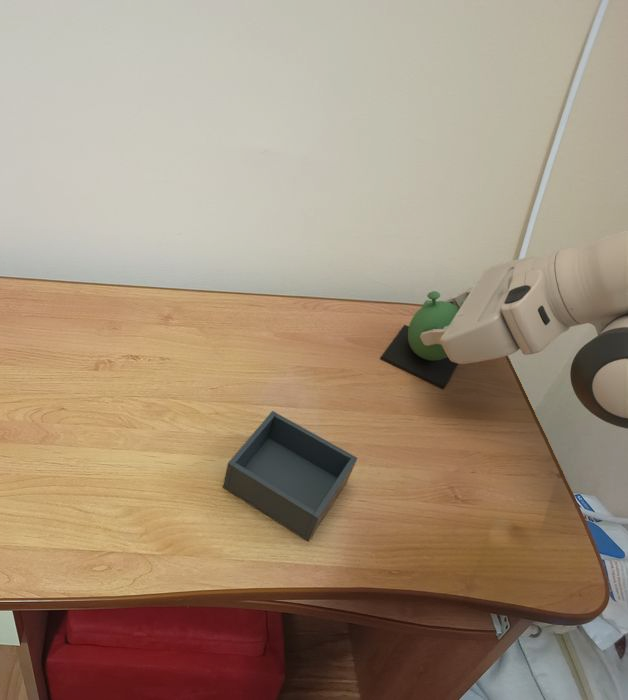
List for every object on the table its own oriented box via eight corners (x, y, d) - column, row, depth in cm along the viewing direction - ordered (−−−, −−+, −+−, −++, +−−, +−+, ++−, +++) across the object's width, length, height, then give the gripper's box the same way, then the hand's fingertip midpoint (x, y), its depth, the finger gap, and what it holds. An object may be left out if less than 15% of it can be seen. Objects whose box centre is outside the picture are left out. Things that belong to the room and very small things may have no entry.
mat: (464, 354, 89) (465, 351, 88) (443, 389, 83) (444, 386, 83) (403, 327, 92) (404, 324, 92) (380, 359, 87) (381, 356, 87)
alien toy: (454, 345, 89) (482, 288, 83) (448, 378, 84) (478, 320, 77) (404, 329, 91) (428, 273, 85) (396, 360, 86) (420, 303, 79)
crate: (347, 481, 71) (357, 457, 68) (308, 541, 65) (318, 518, 62) (265, 435, 76) (272, 410, 73) (222, 487, 70) (227, 462, 67)
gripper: (553, 234, 79) (448, 268, 90) (511, 312, 67) (395, 340, 77) (573, 277, 80) (467, 305, 91) (535, 361, 68) (418, 382, 79)
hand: (434, 322), depth 84 cm, fingers closed on alien toy, 7 cm apart
